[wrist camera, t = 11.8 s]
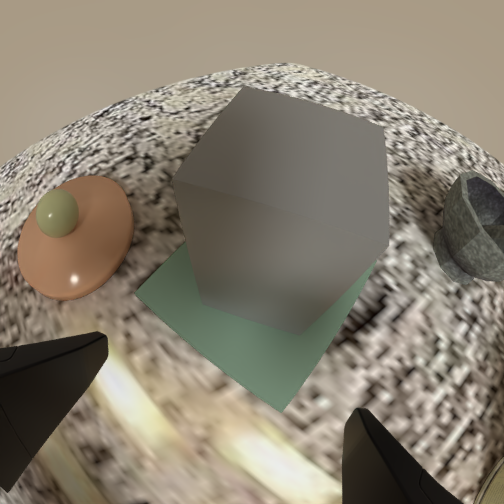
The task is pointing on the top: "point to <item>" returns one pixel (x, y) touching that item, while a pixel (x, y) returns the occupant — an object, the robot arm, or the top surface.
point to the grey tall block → (283, 207)
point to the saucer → (76, 237)
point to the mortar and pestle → (472, 230)
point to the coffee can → (493, 486)
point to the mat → (243, 332)
